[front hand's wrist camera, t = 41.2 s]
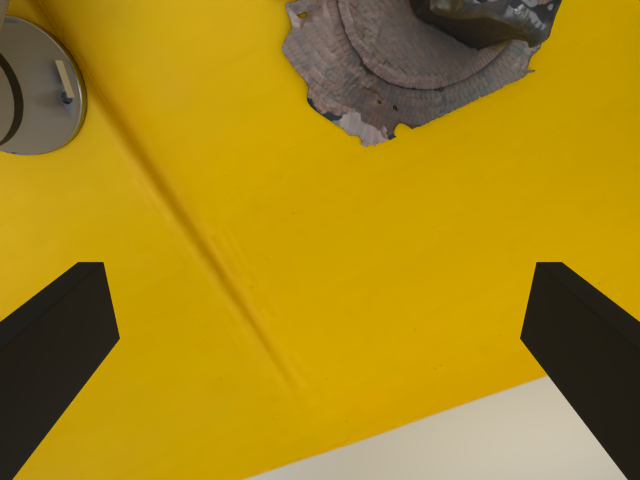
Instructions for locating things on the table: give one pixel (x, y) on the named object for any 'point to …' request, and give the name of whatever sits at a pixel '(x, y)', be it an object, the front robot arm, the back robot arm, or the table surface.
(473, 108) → the table surface
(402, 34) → the sculpture
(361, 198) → the table surface
